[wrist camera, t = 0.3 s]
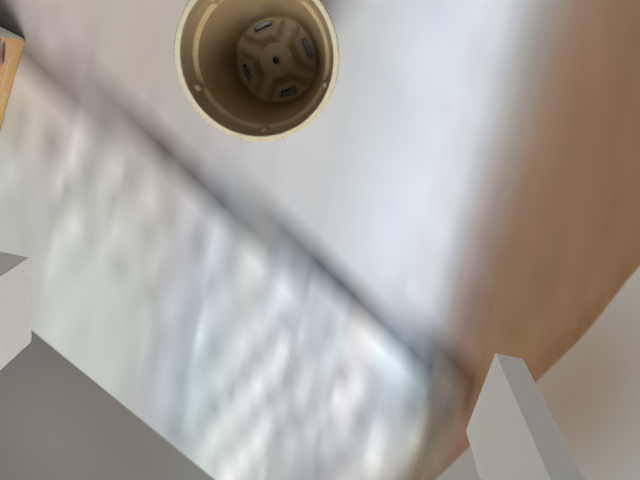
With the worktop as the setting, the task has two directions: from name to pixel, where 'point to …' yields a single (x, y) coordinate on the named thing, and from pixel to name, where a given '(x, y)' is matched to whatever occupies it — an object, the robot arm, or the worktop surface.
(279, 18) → the flower pot
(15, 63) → the small box
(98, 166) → the worktop surface
